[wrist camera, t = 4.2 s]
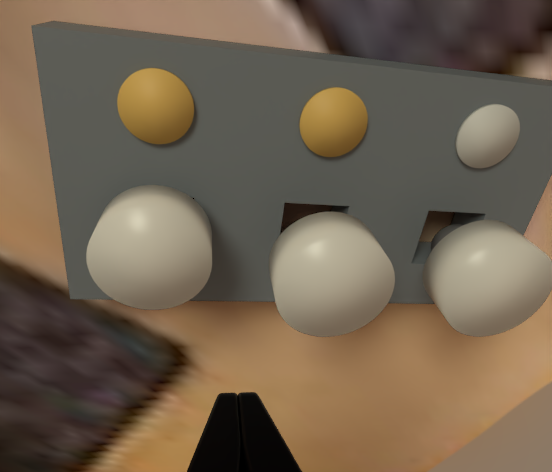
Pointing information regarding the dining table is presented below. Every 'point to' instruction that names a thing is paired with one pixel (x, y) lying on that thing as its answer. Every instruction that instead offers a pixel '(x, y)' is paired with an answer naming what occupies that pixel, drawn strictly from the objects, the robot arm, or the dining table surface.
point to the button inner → (151, 248)
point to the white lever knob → (486, 277)
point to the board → (283, 144)
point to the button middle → (329, 274)
